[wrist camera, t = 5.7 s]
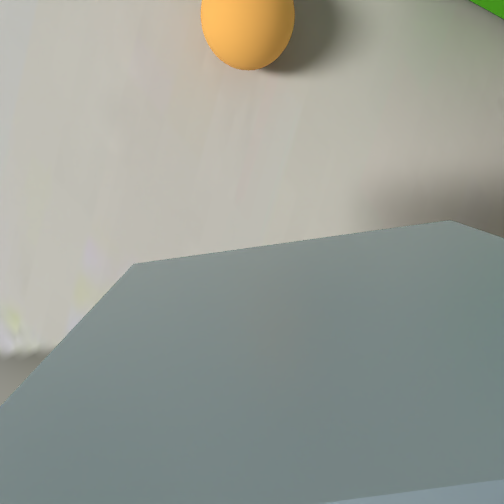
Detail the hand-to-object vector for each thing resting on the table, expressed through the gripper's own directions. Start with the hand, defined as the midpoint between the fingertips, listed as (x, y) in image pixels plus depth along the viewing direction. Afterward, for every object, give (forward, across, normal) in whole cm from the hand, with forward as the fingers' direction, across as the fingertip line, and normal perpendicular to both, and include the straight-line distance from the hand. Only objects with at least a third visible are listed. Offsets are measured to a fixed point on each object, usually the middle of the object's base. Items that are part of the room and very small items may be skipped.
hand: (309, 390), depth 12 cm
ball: (+12, 0, +15) cm, 19 cm away
